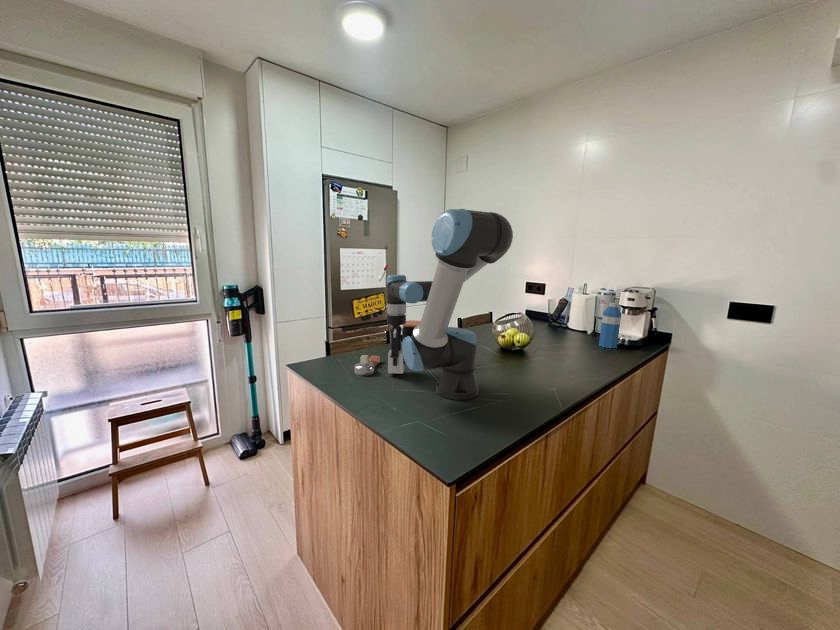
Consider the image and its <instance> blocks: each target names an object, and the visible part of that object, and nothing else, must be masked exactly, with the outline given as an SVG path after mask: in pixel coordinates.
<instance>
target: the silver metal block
mask: <svg viewBox="0 0 840 630" xmlns="http://www.w3.org/2000/svg"><path fill="white" fill-rule="evenodd" d="M390 356H391V349H389V351H388V353H387V374H393V373H392V358H390ZM398 356H399V373H398V374H402V375H403V374H404V371H405V363H404V356H403V351H402V349H400V350H399V351H398Z"/></svg>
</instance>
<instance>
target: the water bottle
mask: <svg viewBox="0 0 840 630" xmlns="http://www.w3.org/2000/svg"><path fill="white" fill-rule="evenodd" d="M618 304H619V303H618V302H609V304H608V305H609V306H608V307H607V308H605V309H604V311H603V312H602V318H601V320H602V321H601V326H600V334H599V340H598V341H599V343H598V347H599V346H602V347H606V348H616V349H617V348H618V341H619V332H620V326H621V319H622V312H621V310H620V309H619V307H618Z"/></svg>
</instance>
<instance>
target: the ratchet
mask: <svg viewBox="0 0 840 630" xmlns="http://www.w3.org/2000/svg"><path fill="white" fill-rule="evenodd" d="M359 359H360V360H359V361H360V362H358V363H356V364H354V375H356V376H359V377H360V376H361V377H368V376H371V375H373V374H375V368H376V367H377V365H378V364H380V362H381V356H380V355H375V354H373V355H372V354H371V356H369V355H367V354H362V355H361V356H360V358H359Z"/></svg>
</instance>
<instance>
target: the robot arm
mask: <svg viewBox="0 0 840 630" xmlns="http://www.w3.org/2000/svg"><path fill="white" fill-rule="evenodd" d="M513 233H514V232H513V227H512V225H511V224H510V221H509V220H508V219H507V218H506V217H504V216H503V215H501V214H500V213H497V212H492V211H490V212H489V211H479V210H471V209H466V208H458V209H457V208H450V209H446V210H445V211H443V212H442V213H440V214H439V216H438V217H437V219H436V220H435V222H434V225H433V227H432V230H431V239H432V240H431V246H432V249H433V251H434V255H435V258H436V259H437V260H438V263H437V265H436V269H435V272H434V276H433V279H432V280H428V281H427V280H425V281H422V280H420V281H418V280H417V281H408V280H407V276H406V275H405V274H389V275H388V276H387V277H386V305H385V306H384V307H385V308H386V313H387V315H386V323H387V325H389V326H390V325H391V326H392V327H391V328H390V334H391V335H390V339H391V343H390V344H391V348H390V350H391V356H390V358H392V373H391V374H400V373H399V356H398V351H399V350H402V351H403V356H404V360H405V362H406V363H405V364H406V366H407V368H408V369H409V370H410V371H412V372H424V371H430V370H435V369H441V371H440V373H439V377H438V378H437V382H436V386H435V391H436V393H437V394H438V396H441V397H443V398H445V399H450V400H454V401H466V400H467V401H468V400H472V399H474V398H476V397H477V396H478V394H479V385H478V381H477V377H476V373H475V369H476V353H477V352H476V351H477V344H478V343H477V334H476V333H475V332H474V331H472V330H469V329H466V328H461V327H453V326H449V325H450V322H451V319H452V316H453V313H454V311H455V308H456V306H457V302H458V299H459V297H460V293H461V291H462V288H463V285H464V283H465V282H467V281H468V280H469V279H470V278H472V277H473V276H474V275H475V274H477V273H478V272H479V271H481V270H482V269H483V268H484V267H486V266H487V265H489V264H490V265H491V264H495V263H496V262H497V261H499V260H500V259H502V258H503V257H504V255H506V253H508V251H509V249H511V245H512V243H513V238H514V235H513ZM419 302H420V303H421V302H426V303H425V306H424V310H423V313H422V317H421V320H420V321H421V323H420V325H417V326H416V327H415V328H414V330H413V333H412V336H407V337H405V338H404V339H403V342H402V328H403V327H402V326H403V325H404V324H405V323H406V321H407V315H406V313H407V304H417V303H419Z"/></svg>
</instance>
